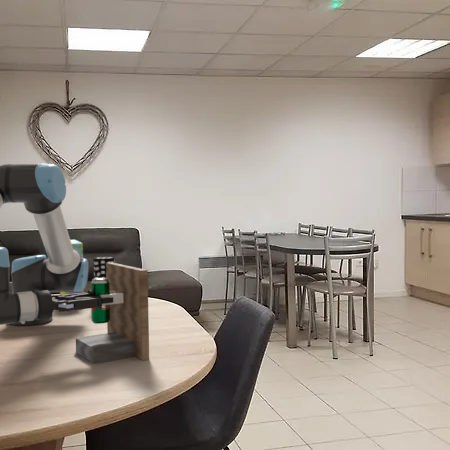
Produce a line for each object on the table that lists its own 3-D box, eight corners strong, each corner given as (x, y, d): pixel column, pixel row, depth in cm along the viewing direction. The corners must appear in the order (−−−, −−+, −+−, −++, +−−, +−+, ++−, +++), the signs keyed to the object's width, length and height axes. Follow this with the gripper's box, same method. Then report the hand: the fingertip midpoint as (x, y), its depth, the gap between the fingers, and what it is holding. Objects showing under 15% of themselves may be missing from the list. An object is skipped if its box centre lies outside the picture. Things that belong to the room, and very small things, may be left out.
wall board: (70, 348, 164) (68, 265, 163) (113, 341, 172) (112, 262, 171) (101, 368, 144) (99, 274, 143) (149, 359, 152) (147, 270, 151)
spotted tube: (96, 306, 230) (94, 257, 229) (116, 305, 230) (115, 256, 229) (93, 310, 221) (91, 259, 220) (114, 309, 222) (113, 258, 221)
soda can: (105, 324, 153) (104, 280, 153) (88, 323, 154) (87, 279, 154) (113, 320, 158) (112, 277, 158) (96, 319, 159) (95, 277, 159)
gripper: (25, 314, 154) (106, 305, 167) (44, 326, 139) (132, 314, 152) (24, 287, 153) (106, 279, 166) (44, 295, 139) (131, 287, 151)
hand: (118, 296), depth 159 cm, fingers closed on soda can, 5 cm apart
